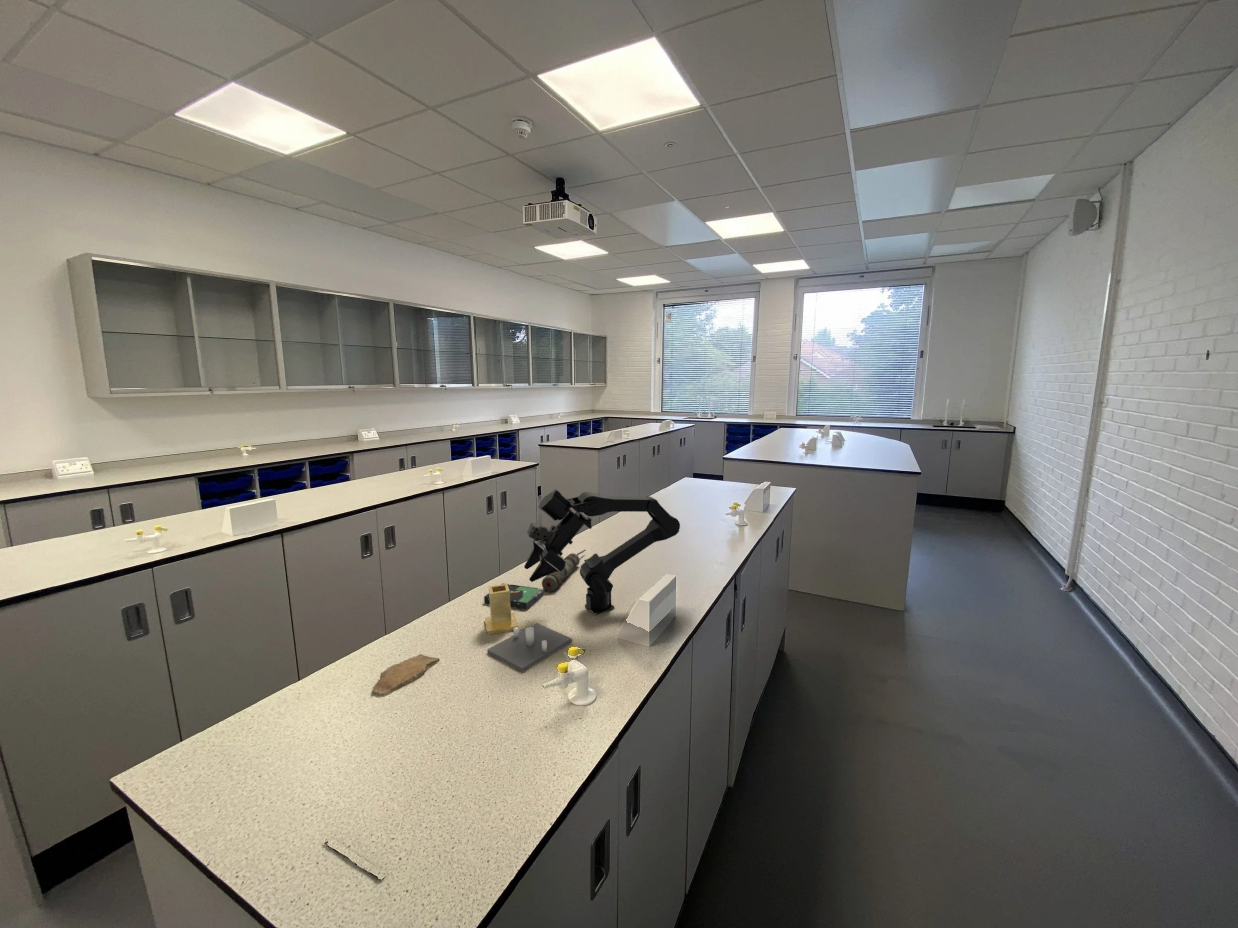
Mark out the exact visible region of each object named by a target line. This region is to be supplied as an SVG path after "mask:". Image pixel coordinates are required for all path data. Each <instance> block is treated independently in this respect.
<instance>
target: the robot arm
mask: <svg viewBox="0 0 1238 928" xmlns="http://www.w3.org/2000/svg"><path fill="white" fill-rule="evenodd" d="M571 508H572V509H573V510H574V511H575V512H574V511H573V510H572V509H571ZM538 509H539V510H541V511H542V512H543V513H544V514H546V515H547V516H548V517H549V518H550V519H552V521H554V522H556V521H559V522H558V524H556V525H555V524H552V525H551V526H550V527H547V526H545V525H541V524H538V523H535V522H530V524H529V528H528V530H527V535H528V537H529V538H531V539H532V540H531V543H532V549H531V551H530V554H529V556H528V558H527V560H526V562H525V564H524V566H523V567H524V569H526V570H529V569H530V568H532V567H533V566H535V565H536V564H538V565H537V566H536V568H534V571H533V572H532V574H531V575H530V577H529V581H530V582H532V583H533V582H535V581H537V580H540V579H542V578H545V577H546V576H547V575H549V574H551V573H554V572H558V570H559V571H562V570H563V569H564V567H565V566H566V562H565V560H564V559H565V558H564V557H563V554H564V553H563V550H564V549H565V548H566V547H567V546H568V545H569V546H570V545H572V544H573V539H574V537H576V535H578V534H579V532H580V531H581V530H582V529H583V527H587V528H588V529H589V530H591V529H592V528H593V527H592V518H591V517H596V516H597V517H598V516H602V515H603V516H604V515H605V514H606V515H607V514H608V513H611V512H614V513H615V512H618V513H619V512H620V513H621V512H622V513H623V512H625V513H626V512H628V513H629V512H631V513H633V512H634V513H639V512H641V513H642V512H643V513H644V512H647V514H648V516H649V517H650V518H651V520H649V522H648V524H647V526H646V527H645V529H643V530H641V531H640V532H638V533H637V534H636V535H635V536H632V537H631V538H630V539H628V540H626V541H625V542H623V543H622V544H621V545H619V546H618V547H615V548H614V549H613V550H611V551H610V552H608V553H607V554H605V555H601V556H600V555H598V553H596V552H595V553H593V554H592V555H591V556H590V557H589V558H586V559H584V560H583V561H584V562H583V563H582V564H581V565H580V568H579V575H580V577H581V578H582V580H583V581H584V583H585V584H586V586H588V587H587V588H586V591H587V592H586V594H585V604H584V607H585V608H587V609H588V610H589V611H590V612H591V613H593V614H594V615H598V614H602V613H605V612H608V611H611V610H613V609H615V605H613V604H612V589H613V586H614V585H613V583H612V582H611V581H610V580H609V578H610V577H611V575H612V574H613V572H614V571H615V570H616V569H617V568H619V567H620V566H621V565H623V564H625V563H626V562H628V561H629V560H631V559H632V558H633V557H635V556H636V555H639V554H640V553H641V552H643V551H644V550H645V549H647V548H648V547H650V546H652V545H653V544H655V543H657V542H661V541H666V540H668V539H671V538H673V537H676V535H677V534H679V532H680V530H681V529H680V528H681V523H680V521H679V519H677V518H676V517H675V516H672V515H671V514H670V513H669V512H667V510H666V509H665V508H664V507H663V506H662V505H661V504H660V503H659V500H658V499H656V498H653V497H652V496H648V495H647V496H608V495H604V494H600V493H597V492H591V491H583V492H581V493H580V495H578V496H575V497H570V498H566V497H565V496H564V495H562V494H561V492H560V491H559V490H558V489H556V488H555V489H554V490H553V491H551V492H550V493H548V494H547V495H545V496H544V497H543V498H542V499H541V500H540V502H539V505H538ZM584 515H586V516H584Z"/></svg>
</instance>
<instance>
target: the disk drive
mask: <svg viewBox="0 0 1238 928" xmlns="http://www.w3.org/2000/svg"><path fill="white" fill-rule="evenodd" d="M502 584H504V583H501V584H500V585H502ZM507 584H508V587H509V591H510V607H511V609H512V608H514V609H518V610H524V611H528V610H529V609H530V608H531V607H533V606H534V605H535V604H536V603H537V602H538V601H539V600H540V599H542V598H543V597H544V589H542V588H539V587H531V586H526V585H525V586H523V585H518V584H512V583H507ZM483 601H484V602H483V603H484V604H487V605H490V599H489V593H487V594H486V595H484V597H483Z"/></svg>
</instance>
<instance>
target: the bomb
mask: <svg viewBox="0 0 1238 928" xmlns="http://www.w3.org/2000/svg"><path fill="white" fill-rule="evenodd" d="M586 551H587V549H583V550H582V551H580V552H578V553H573V552H572V553H569V554H568V555H567V556H565V558H564V560H565V562H566V566H565V567H564V569H563V570H562V571H559V570H558V572H554V573H551V574H549V575H546V576H544V577H543V579H542V580H541V587H542V588H543V590H545V591H546V592H554V591H555V590H556V589H557V588H558V587H559V586H560V585H561V584H562V582H563V581H564V579H566V578H567V577H568V575H570V574H571V572H572V571H574V570H576V568H577V567H578V566H579V565H580V562H581V560H580V557H579V555H581V554H583V553H584V552H586Z"/></svg>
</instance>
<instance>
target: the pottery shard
mask: <svg viewBox="0 0 1238 928" xmlns="http://www.w3.org/2000/svg"><path fill="white" fill-rule="evenodd" d="M440 659H441V658H440V657H439V658H438V657H433V656H428V655H424V654H422V653H419V654H417V655H416V656H413V657H409V658H407V659H404V660H403V661H401V662H399V663H395V664H392V665H390V666H388V667H387V668H386V669H385V670H384V671H383V672H381V673H380V676H379V680H378V681H377V682H376V683H375V685H373V687H372V693H373V694H374V695H377V696H380V695H382V696H384V695H386V696H389V695H390V694H392V693H394V692H395V691H397V690H399V689H401V688H403V687H404V686H406V685H408V684H410V683H412V682H413V681H415V680H416V679H418V678H420V677H421V676H423V674H424V673H425V672H427V671H428V670H429V669H431V668H432V667H433V666H436V664H438V663H439V661H440Z"/></svg>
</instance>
